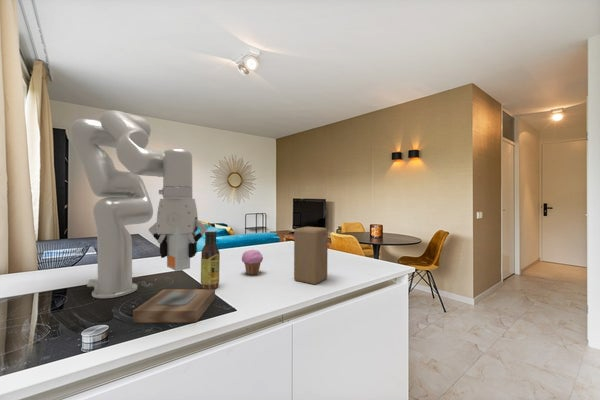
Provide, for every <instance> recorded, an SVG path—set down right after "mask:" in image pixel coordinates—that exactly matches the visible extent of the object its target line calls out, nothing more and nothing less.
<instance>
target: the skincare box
mask: <svg viewBox="0 0 600 400" xmlns="http://www.w3.org/2000/svg"><path fill="white" fill-rule="evenodd" d="M189 243H190V240H189V238H188V236H187V235H181V234H180V228H179V227H174V234H173V235H167V256H166V267H167V268H168V269H171V270H172V271H175V272H177V271H178V272H179V271H182V270H188V269H191V258H189Z"/></svg>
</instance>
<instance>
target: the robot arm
mask: <svg viewBox="0 0 600 400" xmlns="http://www.w3.org/2000/svg"><path fill="white" fill-rule="evenodd" d="M151 131H152V129H151V125H150V123H149V121H148V120H147V119H146V118H144V117H142V116H140V115H135V114H132V113H127V112H124V111H121V110H114V109H113V110H111V109H110V110H108V111H107V110H106V111H104V113H102V114H101V116H100V119H99V120H97V119H93V118H78V119H76V120H74V121H73V122H72V124H71V126H70V129H69V137H70V143H71V145H72V149H73V150H74V152H75V154H76V155H77V157H78V158H79V160H80V162H81V164H82V166H83V168H84V172H85V175H86V178H87V181H88V185H89V187H90V189H91V192H92V193H93V194H94V195H95V196H96V197H98V198H101V199H99V200H98V201H97V202H95V204H94V206H93V213H92V214H93V218H94V221H95V228H96V235H97V236H96V237H97V241H96V243H97V245H96V246H97V279H96V278H95V279H93V278H92V279H89V280H88V282H87V284H86V287H88V288H91V287H92V288H93V290H92V292H91V296H92V298H94V299H113V298H119V297H122V296H126V295H129V294H133V293H134V292H135V291H137V290H138V284H137V283H134V282H133V239H132V238H133V237H132V235H131V233H130V232H129V231H128V229H127V228H126V227H125V226H129V225H139V224H146V223H148V222H150V220H151V219H152V218H153V215H154V207H153V204H152V201H151V198H150V196H149V193H148V191H147V188H146V185H145V183H144V180H143V179H142V177H141V176H144V177H145V176H146V177H157V178H162V183H163V184H162V189H159V190H158V194H159V195H162V197H163V198H160V199H159V202H158V206H157V212H156V213H157V214H156V222H155V223H154V224H153V225H151V226H150V227H149V228H148V231H149V233H150V234H151V235H152V237H154V239H155V240H156V241H157V243H158V244H159V254H160V258H162V259H163V258H167V235H173V234H174V227H179V228H180V234H181V235H187V236H188V238H189V240H190V243H189V258H190V259H191V258H194V257H195V256H196V254H197V253H198V251H197V250H198V249H197V247H198V246H197V245H198V243H197V242H198V241H199V240H200V239H201V238H202V237H203V236H205V232H206V231H209V230H208V227H206V225H204V224H203V223H202V222H201V221H199V219H198V218H199V217H198V209H197V203H196V198H193V154H192V153H191V152H190V151H189V150H188V149H181V148H168V149H166V150H164V151H162V150H155V149H150V148H146V147H147V146H148V144H149V138H150V136H151ZM101 147H106V148H109V147H110V148H113V149H116V150H115V151H116V155H117V156H116V157H117V159H118V162H120V163H121V165H122V166H123V167H124V168H126V169H127V171H123V170H118V169H117V168H116V166H115V163H114V161H113V159H112V158H111V156H110V155H109V154H108V153H107V152H106V151H105V150H104V149H102V148H101ZM198 230H199V232H198ZM196 232H197V233H196Z"/></svg>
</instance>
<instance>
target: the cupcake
mask: <svg viewBox="0 0 600 400" xmlns="http://www.w3.org/2000/svg"><path fill="white" fill-rule="evenodd" d="M263 260H264V257H263V254H262V253H261V251H259V250H255V249H249V250H246V251H244V252H243V253H242V256H241V262H242V263H244V269H245V272H246V274H247V275H249V276H250V275H252V276H253V275H254V276H255V275H259V273H260V267H261V263H263Z"/></svg>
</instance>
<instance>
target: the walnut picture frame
mask: <svg viewBox="0 0 600 400" xmlns="http://www.w3.org/2000/svg"><path fill="white" fill-rule="evenodd" d="M215 300H216V288H214V289H202V288H201V289H199V288H195V289H189V288H188V289H185V288H184V289H179V288H177V289H175V288H174V289H173V288H172V289H171V288H169V289H167V288H166V289H165V288H164V289H162V290H161V291H159V292H157V293H156V294H155V295H154V296H152V297H151V298H149V299H148V300H147V301H145V302H143V303H142V304H141V305H139V306H138V307H137V308H135V309H133V310H132V323H134V324H135V323H141V324H142V323H147V324H149V323H154V324H155V323H157V324H158V323H160V324H161V323H168V324H169V323H174V324H175V323H178V324H179V323H181V324H182V323H189V324H190V323H192V324H193V323H197V322H198V321H199V320H200V319H201V317H202V316H203V315H204V314H205V312H206V311H207V310H208V309H209V307H210V306H211V304H212V303H213V302H214V301H215Z"/></svg>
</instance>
